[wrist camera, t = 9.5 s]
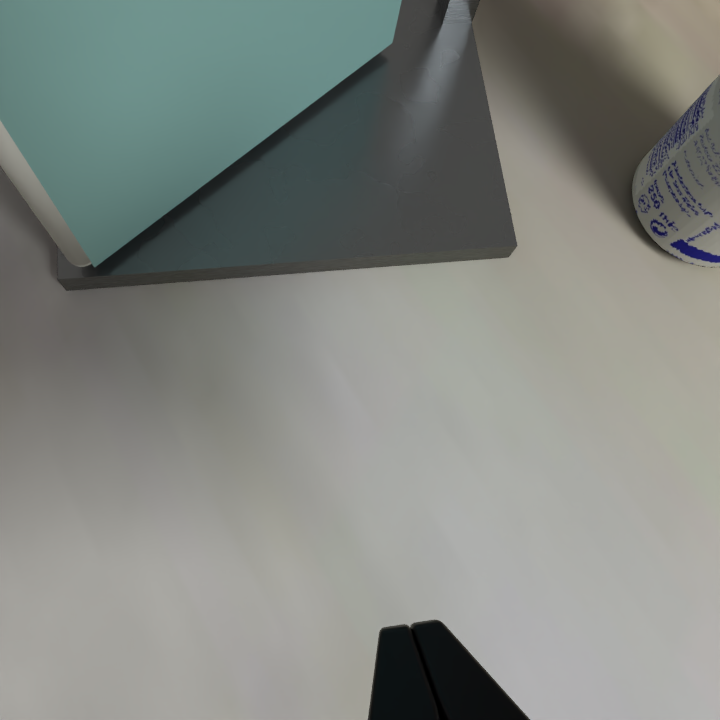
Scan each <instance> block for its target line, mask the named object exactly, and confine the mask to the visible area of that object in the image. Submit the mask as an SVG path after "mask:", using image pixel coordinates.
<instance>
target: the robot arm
mask: <svg viewBox="0 0 720 720" xmlns="http://www.w3.org/2000/svg"><path fill="white" fill-rule="evenodd" d="M368 720H530V719H529V718H528V717H527V716H526V715H525V714H524V712H523V711H522V710H521V709H520V708H519V707H518V706H517V705H516V704H515V702H514V701H513V700H512V699H511V698H510V697H509V696H508V695H507V694H506V692H505V691H504V690H503V689H502V688H501V687H500V686H499V685H498V684H497V682H496V681H495V680H494V679H493V678H492V677H491V676H490V675H489V674H488V672H487V671H486V670H485V669H484V668H483V667H482V666H481V665H480V664H479V662H478V661H477V660H476V659H475V658H474V657H473V656H472V655H471V654H470V652H469V651H468V650H467V649H466V648H465V647H464V646H463V645H462V644H461V642H460V641H459V640H458V639H457V638H456V637H455V636H454V635H453V634H452V632H451V631H450V630H449V629H448V628H447V627H446V626H445V625H444V624H443V623H442V622H441V621H439V620H429V621H422V622H416V623H413V624H412V625H411V627H409V626H408V625H405V624H403V625H396V626H390V627H384V628H382V629H381V630H380V632H379V638H378V646H377V654H376V661H375V669H374V677H373V685H372V692H371V700H370V708H369V715H368Z"/></svg>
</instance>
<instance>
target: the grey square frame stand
mask: <svg viewBox="0 0 720 720" xmlns="http://www.w3.org/2000/svg"><path fill="white" fill-rule="evenodd" d="M479 1H480V0H402V2H401V6H400V11H399V15H398V20H397V24H396V29H395V33H394V38H393V42H392V44H390V45H389V46H388V47H386V48H385V49H384V50H382V51H381V52H380V53H378V54H377V55H376V56H374V57H373V58H372V59H370V60H369V61H368V62H366V63H365V64H364V65H363V66H361V67H360V68H359V69H357V70H356V71H355V72H353V73H352V74H351V75H349V76H348V77H347V78H345V79H344V80H343V81H341V82H340V83H339V84H337V85H336V86H335V87H333V88H332V89H331V90H329V91H328V92H327V93H325V94H324V95H323V96H321V97H320V98H319V99H317V100H316V101H315V102H313V103H312V104H311V105H309V106H308V107H307V108H306V109H304V110H303V111H302V112H300V113H299V114H298V115H296V116H295V117H294V118H292V119H291V120H290V121H288V122H287V123H286V124H284V125H283V126H282V127H280V128H279V129H278V130H276V131H275V132H274V133H272V134H271V135H270V136H268V137H267V138H266V139H264V140H263V141H262V142H260V143H259V144H258V145H256V146H255V147H254V148H252V149H251V150H250V151H248V152H247V153H246V154H245V155H243V156H242V157H241V158H239V159H238V160H237V161H235V162H234V163H233V164H231V165H230V166H229V167H227V168H226V169H225V170H223V171H222V172H221V173H219V174H218V175H217V176H215V177H214V178H213V179H211V180H210V181H209V182H207V183H206V184H205V185H203V186H202V187H201V188H199V189H198V190H197V191H195V192H194V193H193V194H191V195H190V196H189V197H188V198H186V199H185V200H184V201H182V202H181V203H180V204H178V205H177V206H176V207H174V208H173V209H172V210H170V211H169V212H168V213H166V214H165V215H164V216H162V217H161V218H160V219H158V220H157V221H156V222H154V223H153V224H152V225H150V226H149V227H148V228H146V229H145V230H144V231H142V232H141V233H140V234H138V235H137V236H136V237H134V238H133V239H132V240H130V241H129V242H128V243H127V244H125V245H124V246H123V247H121V248H120V249H119V250H117V251H116V252H115V253H113V254H112V255H111V256H109V257H108V258H107V259H105V260H104V261H103V262H101V263H100V264H99V265H97V266H96V267H94V266H93V265H92V264H90V265H88V266H85V267H79V266H75V265H73V264H71V263H70V262H69V261H68V260H67V259H66V257H65V256H64V254H63V253H62V252H61V250H60V249H59V247H58V246H57V266H58V280H59V282H60V283H61V284H62V285H63V287H64V288H65V289H66V290H80V289H93V288H106V287H119V286H133V285H146V284H159V283H173V282H186V281H199V280H213V279H226V278H239V277H253V276H266V275H279V274H293V273H306V272H319V271H333V270H346V269H359V268H372V267H386V266H399V265H412V264H426V263H439V262H452V261H466V260H479V259H492V258H506V257H509V256H510V255H511V253H512V252H513V251H514V249H515V248H516V247H517V242H516V237H515V232H514V227H513V223H512V218H511V213H510V208H509V203H508V198H507V193H506V189H505V184H504V179H503V174H502V169H501V164H500V159H499V154H498V150H497V145H496V140H495V135H494V130H493V125H492V120H491V115H490V111H489V106H488V101H487V96H486V91H485V86H484V81H483V76H482V72H481V67H480V62H479V57H478V52H477V47H476V42H475V37H474V33H473V28H472V20H473V18H474V15H475V12H476V9H477V7H478V4H479Z"/></svg>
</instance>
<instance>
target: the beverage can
mask: <svg viewBox="0 0 720 720" xmlns="http://www.w3.org/2000/svg"><path fill="white" fill-rule="evenodd" d="M632 196H633V203H634V207H635V210H636V213H637V215H638V218H639V220H640V222H641V224H642V225H643V227H644V228H645V230H646V232H647V233H648V234H649V235H650V236H651V238H652V239H653V240H654V241H655V242H656V243H657V244H658V245H659V246H660V247H662V248H663V249H664V250H666V251H667V252H668V253H670V254H672V255H673V256H675V257H677V258H678V259H681V260H683V261H685V262H688V263H690V264H694V265H698V266H702V267H720V75H719V76H718V77H717V78H716V79H715V80H714V81H713V82H712V83H711V85H710V86H709V87H708V88H707V89H706V90H705V91H704V92H703V93H702V94H701V95H700V97H699V98H698V99H697V100H696V101H695V102H694V103H693V104H692V105H691V106H690V108H689V109H688V110H687V111H686V112H685V113H684V114H683V115H682V116H681V117H680V118H679V120H678V121H677V122H676V123H675V124H674V125H673V126H672V127H671V128H670V129H669V130H668V132H667V133H666V134H665V135H664V136H663V137H662V138H661V139H660V140H659V141H658V142H657V144H656V145H655V146H654V147H653V148H652V149H651V150H650V151H649V152H648V153H647V154H646V156H645V157H644V158H643V159H642V160H641V162H640V163H639V165H638V167H637V169H636V172H635V175H634V178H633V184H632Z"/></svg>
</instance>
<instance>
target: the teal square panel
mask: <svg viewBox="0 0 720 720" xmlns="http://www.w3.org/2000/svg"><path fill="white" fill-rule="evenodd" d="M401 2H402V0H0V166H1V168H2V169H3V171H4V172H5V173H6V175H7V176H8V178H9V179H10V180H11V182H12V183H13V184H14V186H15V187H16V189H17V190H18V191H19V193H20V194H21V196H22V197H23V198H24V200H25V201H26V203H27V204H28V205H29V207H30V208H31V210H32V211H33V212H34V214H35V215H36V217H37V218H38V219H39V221H40V222H41V224H42V225H43V226H44V228H45V229H46V231H47V232H48V233H49V235H50V236H51V238H52V239H53V240H54V242H55V243H56V245H57V246H58V247H59V249H60V250H61V252H62V253H63V254H64V256H65V257H66V259H67V260H68V261H69V262H70V263H71V264H73V265H75V266H79V267H85V266H88V265H90V264H92V265H93V266H94V267H96V266H97V265H99V264H100V263H101V262H103V261H104V260H105V259H107V258H108V257H109V256H111V255H112V254H113V253H115V252H116V251H117V250H119V249H120V248H121V247H123V246H124V245H125V244H127V243H128V242H129V241H130V240H132V239H133V238H134V237H136V236H137V235H138V234H140V233H141V232H142V231H144V230H145V229H146V228H148V227H149V226H150V225H152V224H153V223H154V222H156V221H157V220H158V219H160V218H161V217H162V216H164V215H165V214H166V213H168V212H169V211H170V210H172V209H173V208H174V207H176V206H177V205H178V204H180V203H181V202H182V201H184V200H185V199H186V198H188V197H189V196H190V195H191V194H193V193H194V192H195V191H197V190H198V189H199V188H201V187H202V186H203V185H205V184H206V183H207V182H209V181H210V180H211V179H213V178H214V177H215V176H217V175H218V174H219V173H221V172H222V171H223V170H225V169H226V168H227V167H229V166H230V165H231V164H233V163H234V162H235V161H237V160H238V159H239V158H241V157H242V156H243V155H245V154H246V153H247V152H248V151H250V150H251V149H252V148H254V147H255V146H256V145H258V144H259V143H260V142H262V141H263V140H264V139H266V138H267V137H268V136H270V135H271V134H272V133H274V132H275V131H276V130H278V129H279V128H280V127H282V126H283V125H284V124H286V123H287V122H288V121H290V120H291V119H292V118H294V117H295V116H296V115H298V114H299V113H300V112H302V111H303V110H304V109H306V108H307V107H308V106H309V105H311V104H312V103H313V102H315V101H316V100H317V99H319V98H320V97H321V96H323V95H324V94H325V93H327V92H328V91H329V90H331V89H332V88H333V87H335V86H336V85H337V84H339V83H340V82H341V81H343V80H344V79H345V78H347V77H348V76H349V75H351V74H352V73H353V72H355V71H356V70H357V69H359V68H360V67H361V66H363V65H364V64H365V63H366V62H368V61H369V60H370V59H372V58H373V57H374V56H376V55H377V54H378V53H380V52H381V51H382V50H384V49H385V48H386V47H388V46H389V45H390V44H392V42H393V38H394V33H395V29H396V24H397V20H398V15H399V11H400V6H401Z"/></svg>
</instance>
